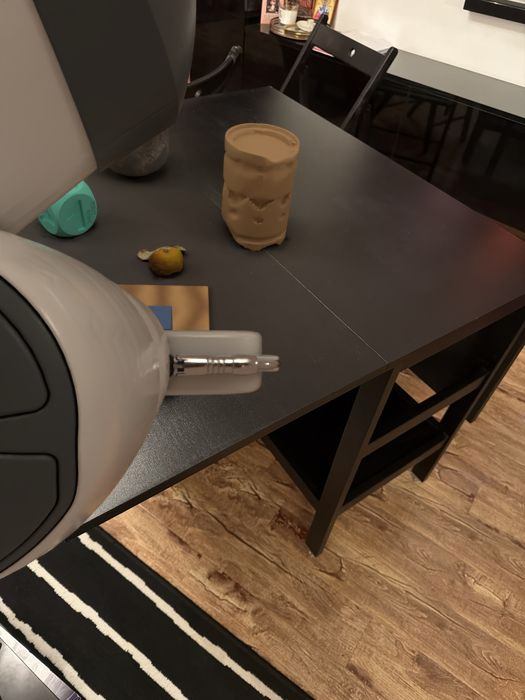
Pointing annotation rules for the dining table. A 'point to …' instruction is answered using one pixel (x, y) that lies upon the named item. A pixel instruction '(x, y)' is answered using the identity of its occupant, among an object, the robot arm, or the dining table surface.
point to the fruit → (164, 259)
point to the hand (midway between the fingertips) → (120, 354)
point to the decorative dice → (71, 212)
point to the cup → (145, 157)
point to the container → (258, 183)
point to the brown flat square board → (177, 303)
